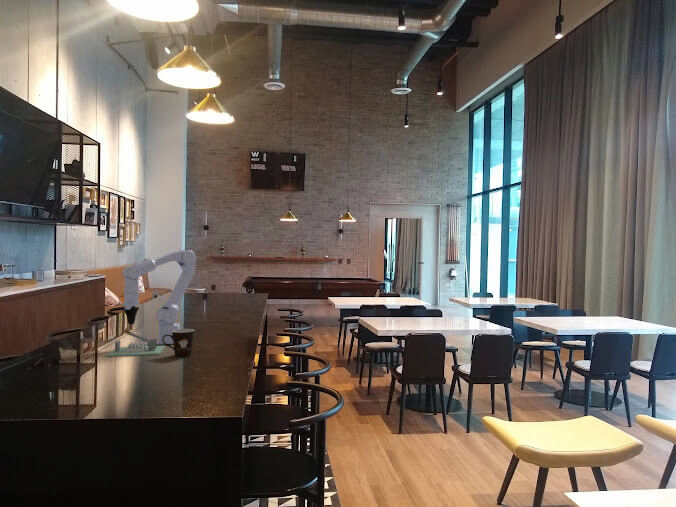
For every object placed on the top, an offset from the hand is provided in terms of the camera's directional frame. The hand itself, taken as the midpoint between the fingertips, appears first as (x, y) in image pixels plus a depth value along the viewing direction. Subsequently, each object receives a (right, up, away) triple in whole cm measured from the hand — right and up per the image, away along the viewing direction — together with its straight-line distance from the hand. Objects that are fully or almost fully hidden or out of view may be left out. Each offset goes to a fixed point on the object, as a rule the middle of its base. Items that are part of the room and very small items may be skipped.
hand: (131, 324), depth 207 cm
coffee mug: (+26, -11, -14) cm, 31 cm away
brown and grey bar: (+7, -5, -9) cm, 12 cm away
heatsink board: (+6, -10, -9) cm, 15 cm away
